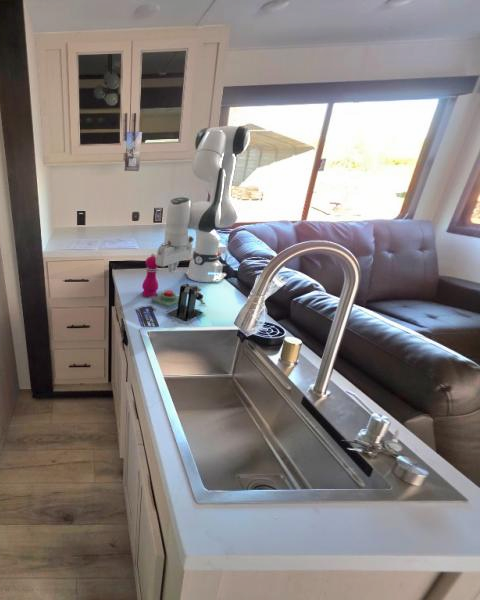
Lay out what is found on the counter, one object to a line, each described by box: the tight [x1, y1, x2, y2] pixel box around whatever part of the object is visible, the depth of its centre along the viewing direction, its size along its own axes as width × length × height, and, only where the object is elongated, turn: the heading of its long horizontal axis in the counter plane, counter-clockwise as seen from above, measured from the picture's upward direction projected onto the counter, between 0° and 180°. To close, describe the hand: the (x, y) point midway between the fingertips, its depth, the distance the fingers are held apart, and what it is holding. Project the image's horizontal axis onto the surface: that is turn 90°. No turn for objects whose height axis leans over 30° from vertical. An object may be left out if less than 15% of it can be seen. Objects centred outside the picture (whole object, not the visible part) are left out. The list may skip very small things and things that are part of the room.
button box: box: [151, 291, 179, 309], centre depth 138 cm, size 11×9×4 cm
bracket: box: [166, 283, 204, 323], centre depth 125 cm, size 12×9×13 cm
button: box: [164, 289, 174, 297], centre depth 137 cm, size 4×4×2 cm
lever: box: [184, 286, 204, 301], centre depth 127 cm, size 13×3×3 cm, turn 131°
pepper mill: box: [141, 253, 159, 298], centre depth 143 cm, size 7×7×20 cm
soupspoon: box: [189, 284, 206, 305], centre depth 145 cm, size 22×3×7 cm
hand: (172, 271), depth 133 cm, fingers closed
